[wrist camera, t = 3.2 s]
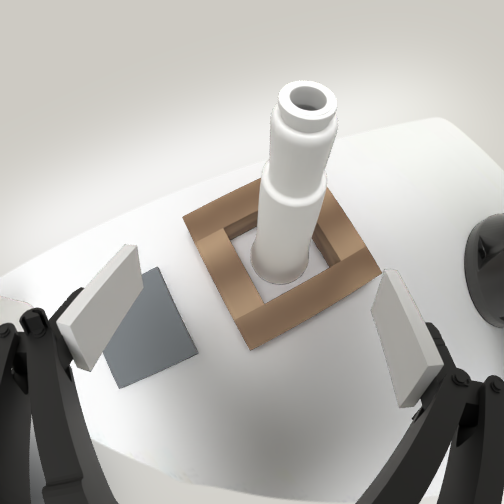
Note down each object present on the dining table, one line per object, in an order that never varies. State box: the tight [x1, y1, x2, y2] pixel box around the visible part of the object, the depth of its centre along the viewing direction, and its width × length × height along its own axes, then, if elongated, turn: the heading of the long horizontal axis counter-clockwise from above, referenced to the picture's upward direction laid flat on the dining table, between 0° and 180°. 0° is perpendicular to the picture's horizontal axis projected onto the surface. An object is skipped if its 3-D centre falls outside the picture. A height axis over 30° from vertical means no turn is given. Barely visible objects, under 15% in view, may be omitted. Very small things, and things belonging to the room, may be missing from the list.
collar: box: [182, 178, 382, 350], centre depth 29 cm, size 14×14×4 cm
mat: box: [103, 267, 198, 389], centre depth 29 cm, size 10×10×1 cm
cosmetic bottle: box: [250, 81, 338, 284], centre depth 20 cm, size 6×6×22 cm
